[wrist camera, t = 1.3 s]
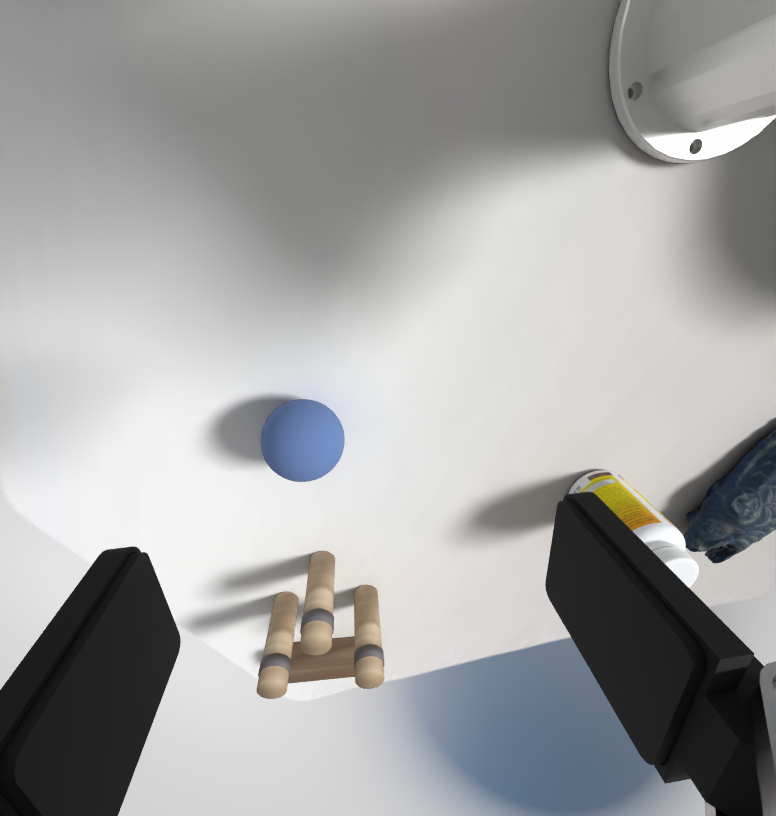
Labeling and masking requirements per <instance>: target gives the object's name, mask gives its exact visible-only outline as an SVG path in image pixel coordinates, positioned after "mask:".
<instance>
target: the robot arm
mask: <svg viewBox="0 0 776 816" xmlns="http://www.w3.org/2000/svg"><path fill="white" fill-rule="evenodd" d="M609 79H610V87H611V95H612V100H613V103H614V107H615V110H616V113H617V116H618V119H619V121H620V123H621V125H622V126H623V128H624V130H625V132H626V134H627V135H628V136H629V138H630V139H631V140H632V141H633V142H634V143H635V144H636V145H637V146H638V148H640V149H641V150H643V151H644V152H646V153H647V154H649V155H650V156H652V157H654V158H657V159H660V160H663V161H666V162H672V163H690V162H698V161H704V160H708V159H712V158H715V157H719V156H722V155H724V154H726V153H728V152H731V151H733V150H735V149H737V148H739V147H741V146H742V145H744V144H745V143H746V142H748V141H749V140H751V139H752V138H754V137H755V136H756V135H758V134H759V133H760V132H761V131H762V130H764V129H765V128H766V127H767V126H768V125H769V124H770V123H771V122H772V121H773V120H774V119H775V118H776V0H622V1H621V4H620V7H619V10H618V13H617V16H616V20H615V23H614V29H613V34H612V40H611V46H610V61H609ZM628 93H629V96H628ZM546 591H547V595H548V597H549V599H550V601H551V603H552V605H553V606H554V608H555V610H556V612H557V613H558V615H559V617H560V618H561V620H562V622H563V624H564V625H565V627H566V629H567V630H568V632H569V634H570V636H571V637H572V639H573V640H574V642H575V644H576V646H577V648H578V649H579V651H580V653H581V654H582V656H583V658H584V659H585V661H586V663H587V665H588V666H589V668H590V670H591V672H592V673H593V675H594V677H595V678H596V680H597V682H598V684H599V685H600V687H601V689H602V690H603V692H604V694H605V696H606V697H607V699H608V701H609V702H610V704H611V706H612V708H613V709H614V711H615V713H616V714H617V716H618V718H619V720H620V721H621V723H622V725H623V727H624V728H625V730H626V731H627V733H628V735H629V737H630V739H631V740H632V742H633V743H634V745H635V747H636V749H637V751H638V752H639V754H640V755H641V757H642V758H643V759H644V760H645V761H646V762H647V763H648V764H650V765H654V766H655V767H656V769H657V771H658V772H659V774H660V776H661V777H662V779H663V781H664V782H665V783H671V782H676V781H681V780H686V779H691V780H692V781H693V783H694V784H695V786H696V787H697V789H698V791H699V792H700V794H701V795H702V797H703V798H704V800H705V815H706V816H776V662H773V663H769V664H766V665H765V666H763V665H762V664H761V663H760V662H759V661H758V660H757V659H756V658H755V657H754V653H753V652H752V651H751V650H750V649H749V648H748V647H747V646H746V645H745V644H744V643H743V642H742V641H741V640H740V639H739V638H738V637H737V636H736V635H735V634H734V633H733V632H732V631H731V630H730V629H729V628H728V627H727V626H726V625H725V624H724V623H723V622H722V621H721V620H720V619H719V618H718V617H717V616H716V615H715V614H714V613H713V612H712V611H711V610H710V609H709V608H708V607H707V606H706V605H705V604H704V603H703V602H702V601H701V600H700V599H699V598H698V597H697V596H696V595H695V594H694V593H693V592H692V591H691V590H690V589H689V588H688V587H687V586H686V584H685V583H684V582H683V581H682V580H681V579H680V578H679V577H678V576H677V575H676V574H675V573H674V572H673V571H672V570H671V569H670V568H669V567H668V566H667V565H666V564H665V563H664V562H663V561H662V560H661V559H660V558H659V557H658V556H657V555H656V554H655V553H654V552H653V551H652V550H651V549H650V548H649V547H648V546H647V545H646V544H645V543H644V542H643V541H642V540H641V539H640V538H639V537H638V536H637V535H636V534H635V533H634V532H633V531H632V530H631V529H630V528H629V527H628V526H627V525H626V524H625V523H624V522H623V521H622V520H621V519H620V518H619V517H618V516H617V515H616V514H615V513H614V512H613V511H612V510H611V509H610V508H609V507H608V506H607V505H606V504H605V503H604V502H603V501H602V500H601V499H600V498H599V497H598V496H597V495H596V494H595V493H593V492H590V491H589V492H581V493H573V494H567V495H565V497H564V499H563V501H560V502H559V503H558V505H557V511H556V517H555V524H554V530H553V537H552V544H551V550H550V557H549V563H548V570H547V577H546ZM179 648H180V635H179V632H178V629H177V627H176V624H175V622H174V619H173V617H172V614H171V611H170V609H169V606H168V604H167V601H166V599H165V596H164V594H163V591H162V589H161V586H160V583H159V581H158V578H157V576H156V573H155V571H154V568H153V566H152V563H151V561H150V558H149V556H148V554H147V553H145V552H142V553H141V551H140V550H139V549H138V548H137V547H126V548H117V549H109V550H105V551H103V552H102V553H101V554H100V555H99V556H98V558H97V559H96V561H95V562H94V563H93V565H92V566H91V567H90V569H89V570H88V571H87V573H86V574H85V576H84V577H83V578H82V580H81V581H80V583H79V584H78V585H77V586H76V588H75V589H74V591H73V592H72V593H71V595H70V596H69V597H68V599H67V600H66V601H65V603H64V604H63V606H62V607H61V608H60V610H59V611H58V612H57V614H56V615H55V616H54V618H53V619H52V621H51V622H50V623H49V625H48V626H47V627H46V629H45V630H44V631H43V633H42V634H41V636H40V637H39V639H38V640H37V641H36V642H35V644H34V645H33V646H32V648H31V649H30V650H29V652H28V653H27V655H26V656H25V657H24V659H23V660H22V661H21V663H20V664H19V665H18V667H17V668H16V670H15V671H14V672H13V674H12V675H11V676H10V678H9V679H8V680H7V682H6V683H5V685H4V686H3V687H2V689H1V690H0V816H118V814H119V811H120V808H121V806H122V803H123V800H124V797H125V795H126V792H127V790H128V787H129V784H130V782H131V779H132V776H133V773H134V771H135V768H136V766H137V763H138V760H139V758H140V755H141V752H142V749H143V747H144V744H145V741H146V739H147V736H148V733H149V731H150V728H151V725H152V723H153V720H154V717H155V714H156V712H157V709H158V707H159V704H160V701H161V699H162V696H163V693H164V691H165V688H166V685H167V682H168V680H169V677H170V675H171V672H172V669H173V667H174V664H175V661H176V658H177V656H178V653H179Z"/></svg>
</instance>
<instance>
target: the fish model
mask: <svg viewBox="0 0 776 816" xmlns="http://www.w3.org/2000/svg"><path fill="white" fill-rule="evenodd" d="M687 517H688V519H689V528H688V530H687V532H686V533H685V534H684V535H683V537H684V539H685V547H686V548H688V549H689V550H690V551H692V552H697V551H698V552H702V551H707V552H706V553H705V556H708V559H710V560H711V561H712V562H713V563H720V562H723V561H725V560H727V559H729V558H730V557H732V556H733V555H735V554H737V553H739V552H741V551H743V550H745V549H746V548H748V547H749V546H750V545H751V544H753V543H755V542H758V541H760V540H761V539H762V538H763V537H765V536H766V535H768V534H770V533H771V532H773V531H774V530H776V429H775V430H774V431H772V432H771V433H770V434H769V435H768V436H767V437H766V438H765V439H763V440H761V441H759V442H758V443H757V445H756V447H755V448H753V449H752V450H751V451H749V452H748V453H747V454H746V455H745V456H744V458H743V459H742V460H741V461H740V462H739V463H738V464H737V465H736V466H735V468H734V469H733V470H732V471H731V472H730V473H729V474H728V475H727V476H726V477H723V478H722V479H720V480H719V481H715V483H714V484H713V485H712V486H710V487H709V489H708V491H707V495H706V497H705V499H704V501H703V503H702V505H701V508H700V510H696V511H691V512H689V513H688V514H687Z"/></svg>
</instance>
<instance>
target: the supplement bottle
mask: <svg viewBox="0 0 776 816" xmlns="http://www.w3.org/2000/svg"><path fill="white" fill-rule="evenodd" d="M589 491H590V492H593V493H595V494H596V495H597V496H598V497H599V498H600V499H601V500H602V501H603V502H604V503H605V504H606V505H607V506H608V507H609V508H610V509H611V510H612V511H613V512H614V513H615V514H616V515H617V516H618V517H619V518H620V519H621V520H622V521H623V522H624V523H625V524H626V525H627V526H628V527H629V528H630V529H631V530H632V531H633V532H634V533H635V534H636V535H637V536H638V537H639V538H640V539H641V540H642V541H643V542H644V543H645V544H646V545H647V546H648V547H649V548H650V549H651V550H652V551H653V552H654V553H655V554H656V555H657V556H658V557H659V558H660V559H661V560H662V561H663V562H664V563H665V564H666V565H667V566H668V567H669V568H670V569H671V570H672V571H673V572H674V573H675V574H676V575H677V576H678V577H679V578H680V579H681V580H682V581H683V582H684V583H685V584H686V586H687V587H688V588H689V587H690V586H691V585H692V584H693V583H694V581H695V580H696V578H697V576H698V572H699V568H698V565H697V563H696V562H695V561H694V560H693V559H692V558H691V557H690V556H689V555H688V554H687V552H686V551H685V539H684V537H683V535H682V533H681V532H680V531H679V530H678V529H677V528H676V527H675V526H674V525H673V524H672V523H671V522H670V521H669V520H668V519H666V518H665V517H664V516H663V515H662V514H661V513H660V512H659V511H658V510H657V509H656V508H655V507H653V506H652V505H651V504H650V503H649V502H648V501H647V500H646V499H645V498H644V497H643V496H642V495H641V494H639V493H638V492H637V491H636V490H635V489H634V488H633V487H632V486H631V485H630V484H629V483H628V482H626V481H625V480H624V479H623V478H622V477H621V476H620V475H618V474H616V473H614V472H612V471H607V470H599V471H594V472H590V473H588V474H586V475H584V476H582V477H581V478H580V479H578V480H577V481H576V482H575V483H574V485H573V486H572V487H571V489H570V491H569V494H573V493H581V492H589Z"/></svg>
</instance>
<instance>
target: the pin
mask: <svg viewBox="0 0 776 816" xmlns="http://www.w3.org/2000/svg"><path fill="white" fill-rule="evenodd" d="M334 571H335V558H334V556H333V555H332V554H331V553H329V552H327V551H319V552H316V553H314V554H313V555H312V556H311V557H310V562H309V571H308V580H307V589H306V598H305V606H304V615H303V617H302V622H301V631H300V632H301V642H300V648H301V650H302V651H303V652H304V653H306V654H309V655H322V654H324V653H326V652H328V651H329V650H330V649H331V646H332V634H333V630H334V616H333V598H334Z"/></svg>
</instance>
